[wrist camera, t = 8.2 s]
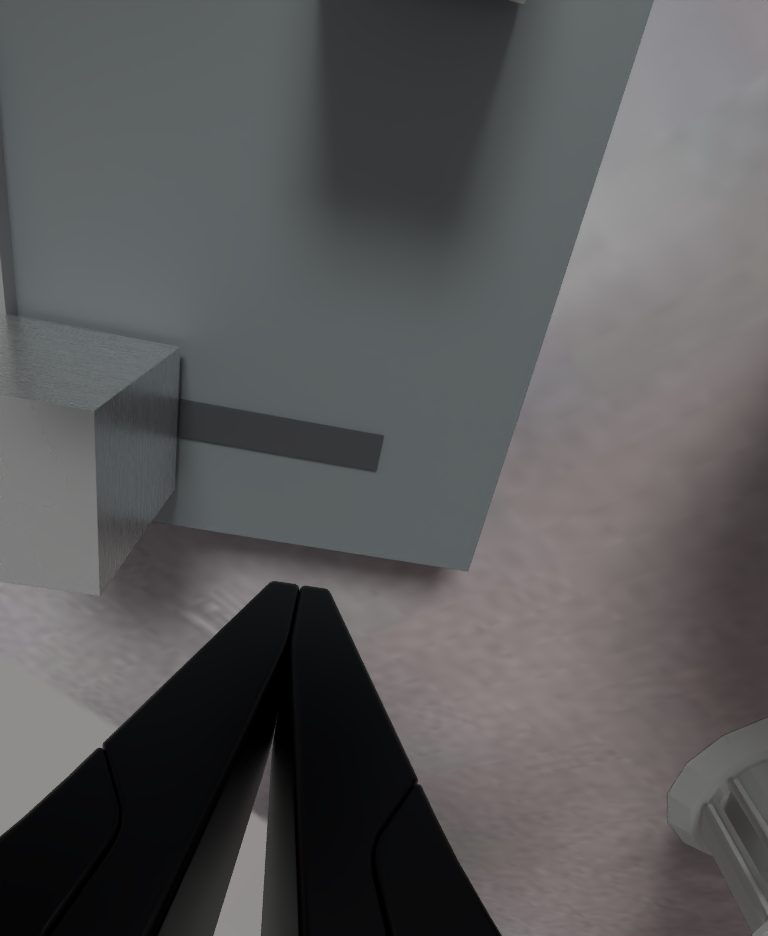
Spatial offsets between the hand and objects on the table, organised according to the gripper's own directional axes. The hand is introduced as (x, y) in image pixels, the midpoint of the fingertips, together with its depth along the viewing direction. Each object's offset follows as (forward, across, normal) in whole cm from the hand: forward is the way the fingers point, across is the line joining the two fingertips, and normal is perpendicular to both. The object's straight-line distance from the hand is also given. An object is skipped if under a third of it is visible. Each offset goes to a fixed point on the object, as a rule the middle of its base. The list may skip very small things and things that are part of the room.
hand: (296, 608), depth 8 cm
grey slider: (+5, +5, 0) cm, 8 cm away
